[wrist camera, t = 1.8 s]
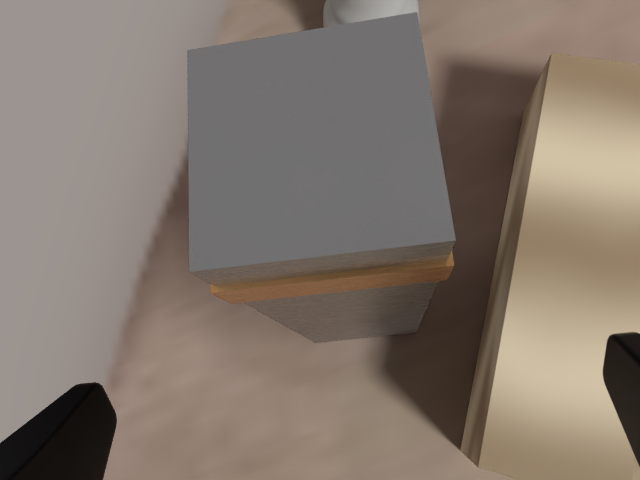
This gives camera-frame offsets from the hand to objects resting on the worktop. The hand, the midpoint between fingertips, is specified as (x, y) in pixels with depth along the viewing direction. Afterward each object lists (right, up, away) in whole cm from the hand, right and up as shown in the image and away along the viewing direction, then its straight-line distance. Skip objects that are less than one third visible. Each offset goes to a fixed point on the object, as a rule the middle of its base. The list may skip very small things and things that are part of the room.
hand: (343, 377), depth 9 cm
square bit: (+1, +1, +11) cm, 12 cm away
